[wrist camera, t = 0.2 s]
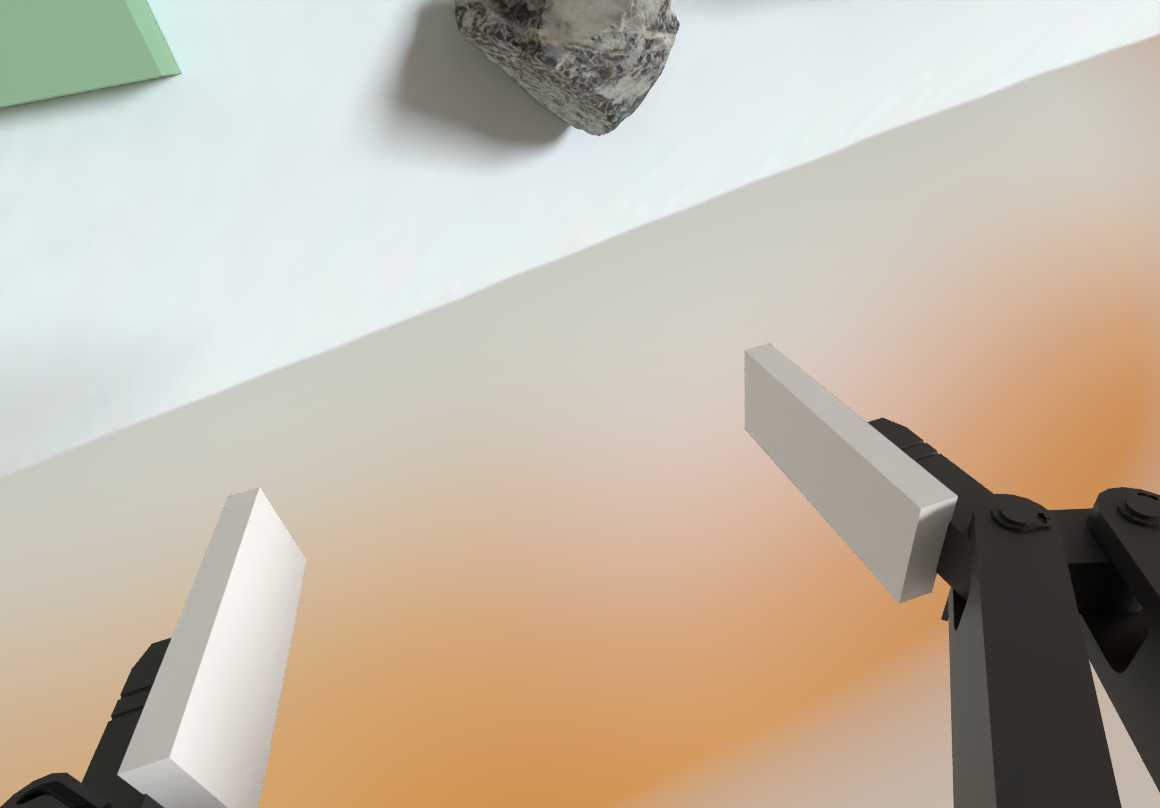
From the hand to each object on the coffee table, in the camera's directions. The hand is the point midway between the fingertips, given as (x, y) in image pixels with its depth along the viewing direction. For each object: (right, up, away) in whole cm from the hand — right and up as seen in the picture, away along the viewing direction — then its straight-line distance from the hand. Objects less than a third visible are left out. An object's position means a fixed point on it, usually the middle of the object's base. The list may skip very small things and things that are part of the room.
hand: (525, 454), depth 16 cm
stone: (0, +23, +19) cm, 30 cm away
